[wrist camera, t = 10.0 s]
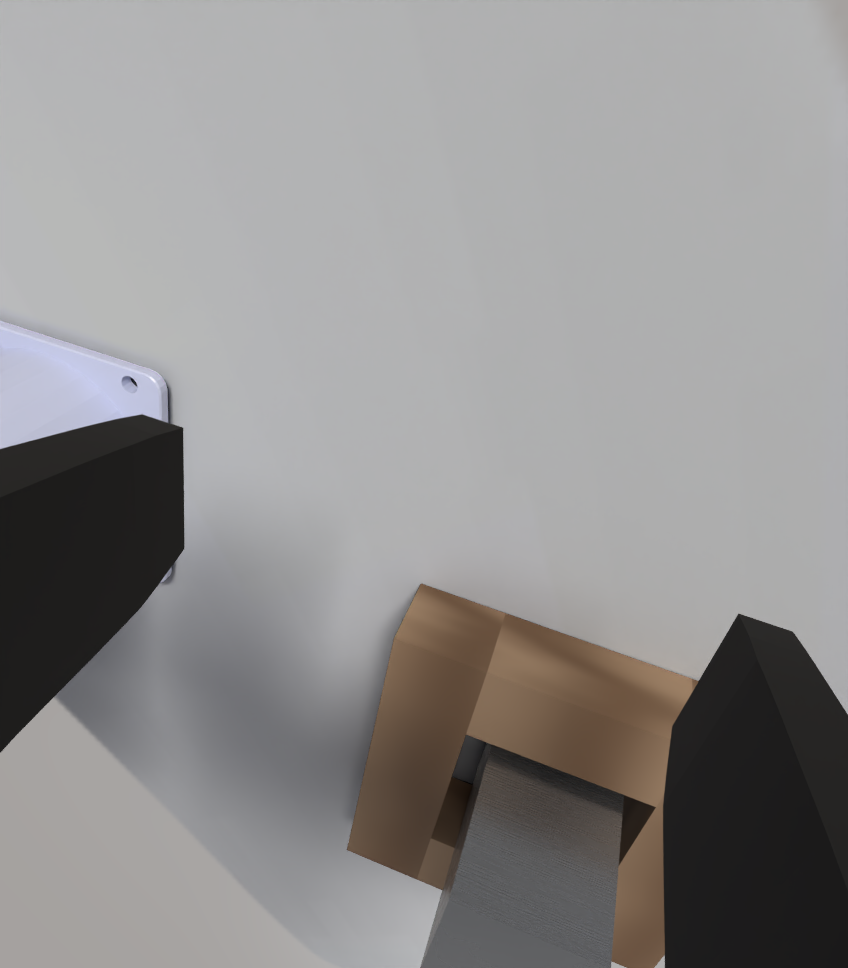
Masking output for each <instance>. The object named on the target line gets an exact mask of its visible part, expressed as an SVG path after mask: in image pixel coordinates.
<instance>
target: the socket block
mask: <svg viewBox="0 0 848 968" xmlns="http://www.w3.org/2000/svg"><path fill="white" fill-rule="evenodd" d="M698 682H699V681H696V680H693V679H691V678H688V677H685V676H682V675H679V674H676V673H673V672H671V671H668V670H665V669H662V668H659V667H656V666H654V665H651V664H648V663H645V662H642V661H639V660H637V659H634V658H631V657H628V656H625V655H622V654H620V653H617V652H614V651H611V650H608V649H605V648H602V647H600V646H597V645H594V644H591V643H588V642H585V641H583V640H580V639H577V638H574V637H571V636H568V635H566V634H563V633H560V632H557V631H554V630H551V629H549V628H546V627H543V626H540V625H537V624H534V623H531V622H529V621H526V620H523V619H520V618H517V617H514V616H512V615H509V614H506V613H503V612H500V611H497V610H495V609H492V608H489V607H486V606H483V605H480V604H477V603H475V602H472V601H469V600H466V599H463V598H460V597H458V596H455V595H452V594H449V593H446V592H443V591H441V590H438V589H435V588H432V587H429V586H426V585H424V584H421V585H420V587H419V589H418V591H417V593H416V595H415V597H414V599H413V601H412V603H411V605H410V607H409V609H408V611H407V613H406V615H405V617H404V619H403V621H402V623H401V625H400V627H399V629H398V631H397V633H396V635H395V637H394V641H393V645H392V650H391V654H390V659H389V663H388V668H387V672H386V677H385V681H384V686H383V690H382V695H381V699H380V704H379V708H378V713H377V717H376V722H375V726H374V731H373V735H372V740H371V744H370V748H369V753H368V757H367V762H366V766H365V771H364V775H363V780H362V784H361V789H360V793H359V798H358V802H357V807H356V811H355V816H354V820H353V825H352V829H351V834H350V838H349V843H348V847H347V850H348V851H351V852H353V853H355V854H358V855H360V856H363V857H365V858H367V859H370V860H372V861H374V862H377V863H379V864H382V865H384V866H386V867H389V868H391V869H393V870H396V871H398V872H401V873H403V874H405V875H408V876H410V877H412V878H415V879H417V880H420V881H422V882H424V883H427V884H429V885H432V886H434V887H436V888H439V889H441V890H443V887H444V883H445V880H446V876H447V873H448V869H449V866H450V862H451V859H452V855H453V852H454V848H455V845H456V841H457V838H458V834H459V831H460V827H461V824H462V820H463V817H464V813H465V810H466V806H467V803H468V799H469V796H470V792H471V789H472V785H471V784H468V783H466V782H463V781H461V780H458V779H456V778H453V777H452V774H453V771H454V769H455V766H456V763H457V760H458V757H459V754H460V751H461V748H462V745H463V742H464V739H465V736H466V735H469V736H471V737H474V738H476V739H479V740H482V741H484V742H487V743H490V744H492V745H495V746H497V747H500V748H503V749H505V750H508V751H510V752H513V753H516V754H518V755H521V756H524V757H526V758H529V759H531V760H534V761H537V762H539V763H542V764H544V765H547V766H550V767H552V768H555V769H557V770H560V771H563V772H565V773H568V774H571V775H573V776H576V777H578V778H581V779H584V780H586V781H589V782H591V783H594V784H597V785H599V786H602V787H604V788H607V789H610V790H612V791H615V792H618V793H620V794H623V795H624V801H623V815H622V828H621V841H620V854H619V867H618V881H617V894H616V907H615V920H614V933H613V947H612V960H611V961H612V962H615V963H617V964H619V965H622V966H624V967H627V968H654V967H655V966H656V965H657V963H658V962H659V961H660V960H661V958H662V957H663V956H664V955H665V933H664V875H663V801H664V791H665V782H666V772H667V763H668V756H669V748H670V740H671V732H672V726H673V724H674V722H675V721H676V719H677V717H678V715H679V714H680V712H681V710H682V709H683V707H684V705H685V704H686V702H687V700H688V699H689V697H690V695H691V693H692V692H693V690H694V688H695V687H696V685H697V683H698Z"/></svg>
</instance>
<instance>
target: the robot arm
mask: <svg viewBox="0 0 848 968" xmlns="http://www.w3.org/2000/svg"><path fill="white" fill-rule="evenodd" d="M130 377H131V378H133V379H134V380H135V382H136V383H137V386H138V387H137V386H135V385H134V384H133V383H132V381H131V378H130ZM183 550H184V470H183V428H182V427H179V426H176V425H173V424H170V423H168V392H167V385H166V383H165V381H164V379H163V377H162V376H161V375H160V374H159V373H157V372H156V371H154V370H152V369H149V368H145V367H142V366H139V365H136V364H133V363H130V362H127V361H124V360H121V359H118V358H115V357H111V356H108V355H105V354H102V353H99V352H96V351H93V350H90V349H87V348H84V347H80V346H77V345H74V344H71V343H68V342H65V341H62V340H59V339H56V338H53V337H49V336H46V335H43V334H40V333H37V332H34V331H31V330H28V329H25V328H22V327H18V326H15V325H12V324H9V323H6V322H3V321H0V752H1V751H2V750H3V749H4V748H5V747H6V746H7V745H8V744H9V743H10V741H11V740H12V739H13V738H14V737H15V736H16V735H17V734H18V733H19V732H20V731H21V730H22V729H23V728H24V727H25V726H26V725H27V724H28V723H29V722H30V721H31V720H32V719H33V718H34V717H35V715H36V714H38V712H39V711H40V710H41V709H42V708H43V707H44V706H45V705H46V704H47V703H48V702H49V701H50V700H51V699H52V698H53V697H54V696H55V695H56V694H57V693H58V692H59V691H60V690H61V689H62V688H63V687H64V686H65V685H66V684H67V683H68V682H69V681H70V680H71V679H72V678H73V677H74V676H75V675H76V674H77V673H78V672H79V671H80V670H81V669H82V668H83V667H84V666H85V665H86V664H87V663H88V662H89V661H90V660H91V659H92V658H93V657H94V656H95V655H96V654H97V653H98V652H99V650H100V649H101V648H102V647H103V646H104V645H105V644H106V643H107V642H108V641H109V640H110V639H111V638H112V637H113V636H114V635H115V634H116V633H117V632H118V631H119V630H120V629H121V628H122V627H123V626H124V625H125V624H126V623H127V621H128V620H129V619H130V618H131V617H132V616H133V615H134V614H135V613H136V612H137V611H138V610H139V609H140V608H141V607H142V605H143V604H144V603H145V601H146V600H147V599H148V597H149V596H150V595H151V594H152V592H153V591H154V590H155V588H156V587H157V586H158V584H159V583H162V582H164V581H165V580H166V579H167V578H168V577H169V576H170V575H171V572H172V565H173V564H174V562H175V561H176V560H177V558H178V557H179V555H180V554H181V553H182V551H183ZM663 875H664V933H665V968H848V714H847V713H846V711H845V710H844V708H843V707H842V705H841V704H840V702H839V701H838V699H837V697H836V696H835V694H834V693H833V691H832V690H831V688H830V687H829V685H828V683H827V682H826V680H825V679H824V677H823V676H822V674H821V673H820V671H819V670H818V668H817V666H816V665H815V663H814V662H813V660H812V659H811V657H810V656H809V654H808V653H807V651H806V650H805V648H804V647H803V645H802V644H801V643H800V641H799V640H798V638H797V637H796V636H795V634H794V633H793V632H792V631H789V630H786V629H783V628H780V627H777V626H774V625H771V624H768V623H765V622H762V621H759V620H756V619H753V618H750V617H747V616H744V615H741V614H738V616H737V617H736V619H735V621H734V622H733V624H732V626H731V627H730V629H729V631H728V633H727V634H726V636H725V638H724V639H723V641H722V643H721V644H720V646H719V648H718V649H717V651H716V653H715V655H714V656H713V658H712V660H711V661H710V663H709V665H708V666H707V668H706V670H705V671H704V673H703V675H702V677H701V678H700V680H699V682H698V683H697V685H696V687H695V688H694V690H693V692H692V693H691V695H690V697H689V699H688V700H687V702H686V704H685V705H684V707H683V709H682V710H681V712H680V714H679V715H678V717H677V719H676V721H675V722H674V724H673V726H672V732H671V740H670V748H669V756H668V763H667V772H666V782H665V791H664V801H663Z"/></svg>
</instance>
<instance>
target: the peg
mask: <svg viewBox="0 0 848 968" xmlns="http://www.w3.org/2000/svg"><path fill="white" fill-rule="evenodd" d="M623 801H624V795H623V794H620V793H618V792H615V791H612V790H610V789H607V788H604V787H602V786H599V785H597V784H594V783H591V782H589V781H586V780H584V779H581V778H578V777H576V776H573V775H571V774H568V773H565V772H563V771H560V770H557V769H555V768H552V767H550V766H547V765H544V764H542V763H539V762H537V761H534V760H531V759H529V758H526V757H524V756H521V755H518V754H516V753H513V752H510V751H508V750H505V749H503V748H500V747H497V746H495V745H492V744H490V743H486V746H485V748H484V751H483V754H482V756H481V759H480V762H479V764H478V768H477V771H476V775H475V778H474V782H473V785H472V789H471V792H470V796H469V799H468V803H467V806H466V810H465V813H464V817H463V820H462V824H461V827H460V831H459V834H458V838H457V841H456V845H455V848H454V852H453V855H452V859H451V862H450V866H449V869H448V873H447V876H446V880H445V883H444V887H443V890H442V894H441V897H440V901H439V904H438V908H437V911H436V915H435V918H434V922H433V925H432V929H431V932H430V936H429V939H428V943H427V946H426V950H425V953H424V957H423V960H422V964H421V967H420V968H611V960H612V947H613V933H614V920H615V907H616V894H617V881H618V867H619V854H620V841H621V828H622V815H623Z"/></svg>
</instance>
